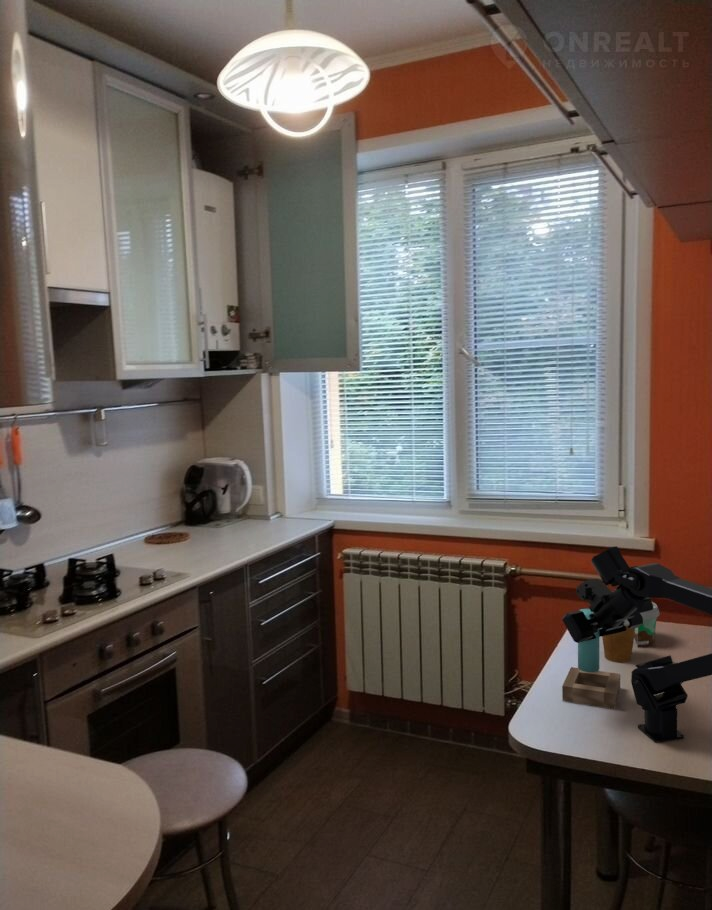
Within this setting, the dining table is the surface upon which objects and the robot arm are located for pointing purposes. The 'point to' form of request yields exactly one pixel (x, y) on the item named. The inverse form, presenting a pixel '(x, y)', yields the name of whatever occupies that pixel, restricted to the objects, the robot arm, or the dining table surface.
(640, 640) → the food container
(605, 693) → the block
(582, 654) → the peg
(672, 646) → the dining table surface
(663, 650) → the dining table surface
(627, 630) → the disposable coffee cup
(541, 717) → the dining table surface
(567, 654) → the dining table surface
